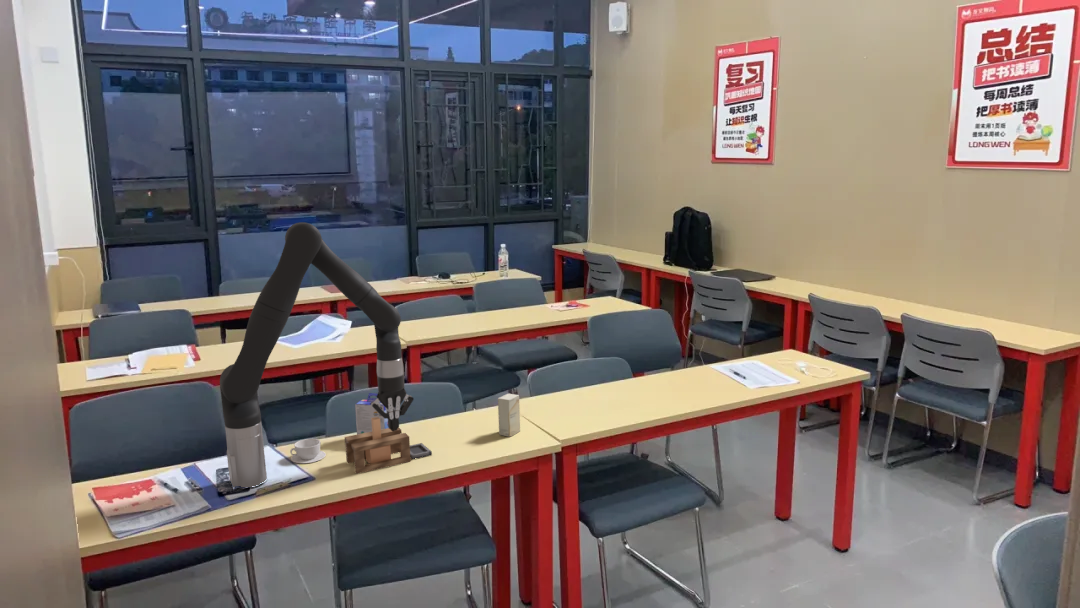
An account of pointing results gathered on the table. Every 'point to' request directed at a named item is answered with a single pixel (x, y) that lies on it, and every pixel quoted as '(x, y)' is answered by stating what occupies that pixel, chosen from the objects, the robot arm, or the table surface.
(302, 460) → the teacup
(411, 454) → the tray
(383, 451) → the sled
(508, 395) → the skincare box
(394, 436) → the tunnel
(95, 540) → the table surface
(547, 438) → the table surface
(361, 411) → the ink cartridge box
